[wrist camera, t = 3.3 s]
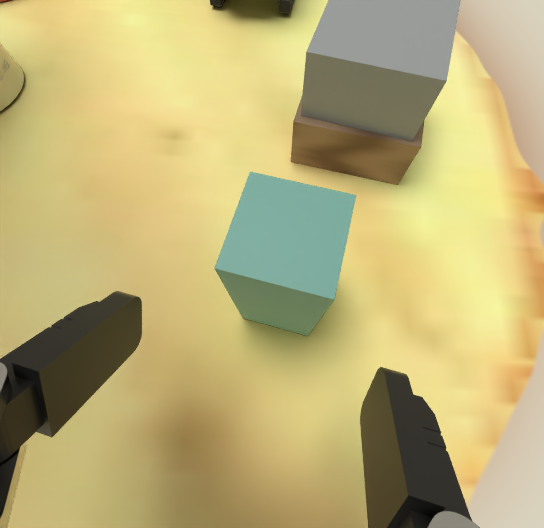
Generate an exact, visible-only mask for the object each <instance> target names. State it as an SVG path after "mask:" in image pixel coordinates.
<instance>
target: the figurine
mask: <svg viewBox="0 0 544 528" xmlns="http://www.w3.org/2000/svg"><path fill="white" fill-rule="evenodd" d="M224 1H225V0H210V5H213V6H219V7H222V6H223V2H224ZM293 2H294V0H280V4H279V13H287V14H290V12H291V9H292V5H293Z"/></svg>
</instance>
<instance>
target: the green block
mask: <svg viewBox="0 0 544 528" xmlns="http://www.w3.org/2000/svg"><path fill="white" fill-rule="evenodd" d="M355 198H356V195H353V194H349V193H344V192H340V191H335V190H331V189H326V188H322V187H317V186H312V185H308V184H303V183H299V182H294V181H290V180H285V179H281V178H276V177H272V176H267V175H263V174H258V173H253V172H250V173H249V176H248V179H247V182H246V184H245V187H244V190H243V192H242V195H241V198H240V201H239V203H238V206H237V209H236V211H235V214H234V217H233V220H232V222H231V225H230V228H229V230H228V233H227V236H226V239H225V241H224V244H223V247H222V249H221V252H220V255H219V258H218V260H217V263H216V266H215V270H216V272H217V274H218V275H219V277H220V279H221V281H222V282H223V284H224V286H225V288H226V289H227V291H228V293H229V295H230V296H231V298H232V300H233V302H234V303H235V305H236V307H237V309H238V310H239V312H240V314H241V316H242V317H243V318H244V319H248V320H252V321H255V322H259V323H262V324H266V325H270V326H273V327H277V328H280V329H284V330H288V331H291V332H295V333H298V334H302V335H306V336H308V335H309V333H310V332H311V331H312V329H313V328H314V327H315V325H316V324H317V323H318V321H319V320H320V319H321V317H322V316H323V314H324V313H325V312H326V310H327V309H328V308H329V306H330V305H331V304H332V302H333V301H334V299H335V294H336V290H337V285H338V280H339V275H340V270H341V266H342V261H343V256H344V251H345V246H346V241H347V237H348V232H349V227H350V222H351V217H352V213H353V208H354V203H355Z"/></svg>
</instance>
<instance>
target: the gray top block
mask: <svg viewBox="0 0 544 528" xmlns="http://www.w3.org/2000/svg"><path fill="white" fill-rule="evenodd" d="M459 6H460V0H329V1H328V3H327V5H326V8H325V10H324V12H323V15H322V17H321V19H320V22H319V24H318V26H317V29H316V31H315V33H314V36H313V38H312V40H311V43H310V45H309V47H308V50H307V52H306V63H305V74H304V85H303V96H302V106H301V116H305V117H309V118H314V119H318V120H322V121H326V122H331V123H335V124H339V125H343V126H348V127H352V128H356V129H360V130H364V131H369V132H373V133H377V134H381V135H386V136H390V137H394V138H398V139H402V140H407V141H411V142H412V140H413V139H414V137H415V135H416V133H417V132H418V130H419V128H420V126H421V125H422V123H423V121H424V119H425V118H426V116H427V114H428V112H429V111H430V109H431V107H432V105H433V104H434V102H435V100H436V98H437V97H438V95H439V93H440V91H441V90H442V88H443V86H444V84H445V83H446V81H447V75H448V69H449V64H450V58H451V52H452V46H453V41H454V35H455V29H456V23H457V17H458V12H459Z"/></svg>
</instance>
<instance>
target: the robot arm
mask: <svg viewBox="0 0 544 528" xmlns="http://www.w3.org/2000/svg"><path fill="white" fill-rule="evenodd" d="M23 83H24V74H23V70H22V69H21V67H20V66H19V65H18V63H17V62H16V61H15V60H14V58H13V57H12V56H11V55H10V54H9V52H8V51H7V50H6V49H5V48H4V46H3V45H2V44H1V43H0V111H1V110H3V109H4V108H5V107H7V106H8V105H9V104H10V103H11V102H12V101H13V100H14V99H15V98H16V97H17V95H18V94H19V92H20V91H21V89H22V86H23ZM141 335H142V302H141V299H140V298H139V297H137V296H133V295H130V294H126V293H123V292H119V291H116V292H114V293H112V294H110V295H109V296H108V297H106V298H105V299H103V300H102V301H100V302H98V301H96V302H93V303H90V304H87V305H85V306H82V307H79V308H77V309H76V310H74V311H73V312H71V313H70V314H68V315H67V316H65V317H64V319H61V320H59V321H58V322H56V323H55V324H53V325H52V327H51V328H50V327H48V328H47V329H45V330H44V331H42V332H41V333H39V334H38V335H36V336H35V337H33V338H32V339H30V340H29V341H27V342H25V343H24V344H22V345H21V346H19V347H18V348H16V349H15V350H13V351H12V352H10V353H9V354H7V355H6V356H4V357H3V358H1V359H0V528H8V522H9V518H10V514H11V510H12V506H13V502H14V497H15V493H16V489H17V485H18V481H19V477H20V473H21V468H22V464H23V460H24V456H25V452H26V446H27V445H26V441H27V440H28V439H29V438H30V437H31V436H32V435H33V434H34V433H35V432H39V433H41V434H44V435H47V436H50V437H53V436H54V435H55V434H56V433H57V432H58V431H59V430H60V429H61V427H62V426H63V425H64V424H65V423H66V422H67V421H68V420H69V419H70V418H71V417H72V416H73V415H74V414H75V413H76V412H77V411H78V410H79V409H80V408H81V407H82V406H83V404H84V403H85V402H86V401H87V400H88V399H89V398H90V397H91V396H92V395H93V394H94V393H95V392H96V391H97V390H98V389H99V388H100V387H101V386H102V385H103V384H104V383H105V381H106V380H107V379H108V378H109V377H110V376H111V375H112V374H113V373H114V372H115V371H116V370H117V369H118V368H119V367H120V366H121V365H122V364H123V363H124V362H125V361H126V359H127V358H128V357H129V356H130V355H131V354H132V353H133V352H134V351H135V350H136V348H137V347H138V345H139V342H140V340H141ZM360 425H361V438H362V451H363V464H364V477H365V490H366V503H367V516H368V528H480V527H479V526H477V525H476V524H475V523H474V522H472V519H471V517H470V514H469V512H468V509H467V506H466V503H465V500H464V497H463V494H462V491H461V489H460V486H459V483H458V480H457V477H456V474H455V471H454V468H453V466H452V463H451V460H450V457H449V454H448V452H447V451H446V445H445V443H444V440H443V437H442V436H441V431H440V428H439V425H438V422H437V420H436V417H435V414H434V413H433V411H432V410H431V409H430V407H429V406H428V404H427V403H426V402H425V400H424V399H423V398H422V397H420V396H416V395H413V392H412V389H411V385H410V382H409V378H408V376H407V375H406V374H404V373H400V372H397V371H393V370H390V369H386V368H383V367H380V368H379V369H378V370H377V372H376V374H375V377H374V379H373V381H372V383H371V386H370V388H369V390H368V392H367V395H366V397H365V399H364V401H363V405H362V409H361V416H360Z"/></svg>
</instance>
